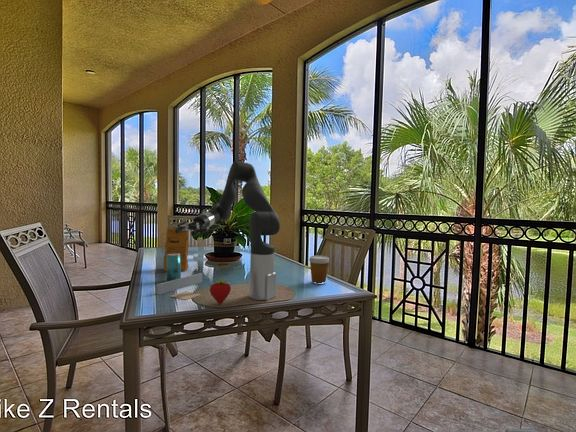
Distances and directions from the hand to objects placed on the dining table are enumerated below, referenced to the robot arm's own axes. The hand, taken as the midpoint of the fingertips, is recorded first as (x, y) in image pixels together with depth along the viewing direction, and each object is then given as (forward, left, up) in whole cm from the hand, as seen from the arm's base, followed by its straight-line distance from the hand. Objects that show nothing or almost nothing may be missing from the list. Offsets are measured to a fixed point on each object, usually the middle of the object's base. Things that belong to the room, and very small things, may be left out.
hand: (183, 232), depth 149 cm
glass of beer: (-54, -31, -22) cm, 66 cm away
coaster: (-19, +17, -22) cm, 34 cm away
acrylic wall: (-9, +10, -22) cm, 26 cm away
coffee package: (+19, -13, -22) cm, 32 cm away
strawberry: (-36, +17, -22) cm, 46 cm away
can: (+2, +4, -22) cm, 22 cm away
